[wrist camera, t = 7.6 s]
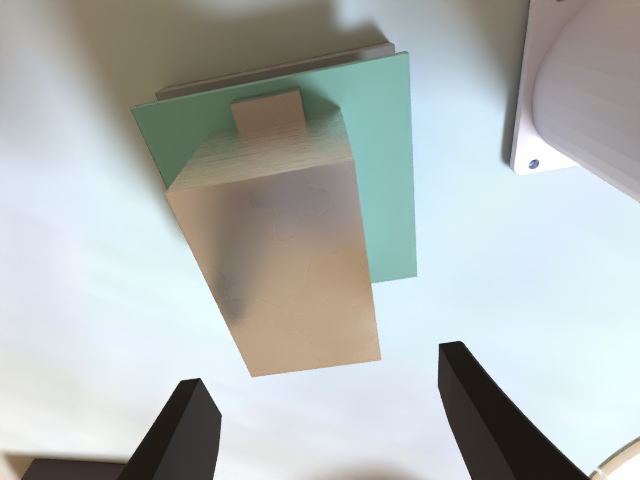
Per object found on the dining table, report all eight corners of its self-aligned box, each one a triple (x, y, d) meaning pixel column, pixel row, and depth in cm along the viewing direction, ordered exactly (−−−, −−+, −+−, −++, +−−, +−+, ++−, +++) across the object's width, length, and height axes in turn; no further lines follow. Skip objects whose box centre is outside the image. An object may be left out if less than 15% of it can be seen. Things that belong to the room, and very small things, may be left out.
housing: (336, 78, 13) (349, 119, 8) (366, 289, 18) (383, 376, 14) (199, 106, 13) (147, 158, 9) (270, 303, 19) (258, 392, 14)
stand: (389, 41, 15) (408, 53, 12) (401, 236, 21) (417, 276, 18) (163, 88, 16) (130, 109, 13) (233, 263, 21) (222, 305, 19)
